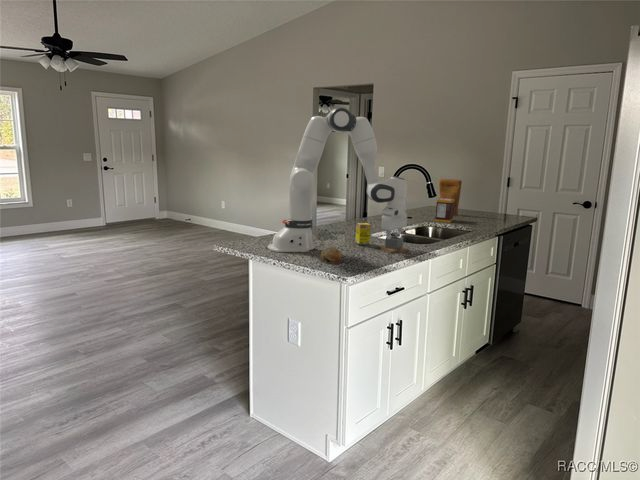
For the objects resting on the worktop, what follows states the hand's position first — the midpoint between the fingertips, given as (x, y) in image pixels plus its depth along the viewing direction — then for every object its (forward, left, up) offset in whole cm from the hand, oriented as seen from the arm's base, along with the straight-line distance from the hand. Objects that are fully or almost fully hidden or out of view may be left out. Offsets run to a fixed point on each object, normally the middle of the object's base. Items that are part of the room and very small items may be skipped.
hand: (393, 237), depth 228 cm
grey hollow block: (0, 0, -5) cm, 5 cm away
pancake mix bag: (+113, +101, -6) cm, 152 cm away
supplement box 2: (+90, +76, -7) cm, 118 cm away
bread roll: (-39, -12, -7) cm, 41 cm away
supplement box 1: (-9, +16, -6) cm, 19 cm away
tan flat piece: (0, 0, -6) cm, 6 cm away
